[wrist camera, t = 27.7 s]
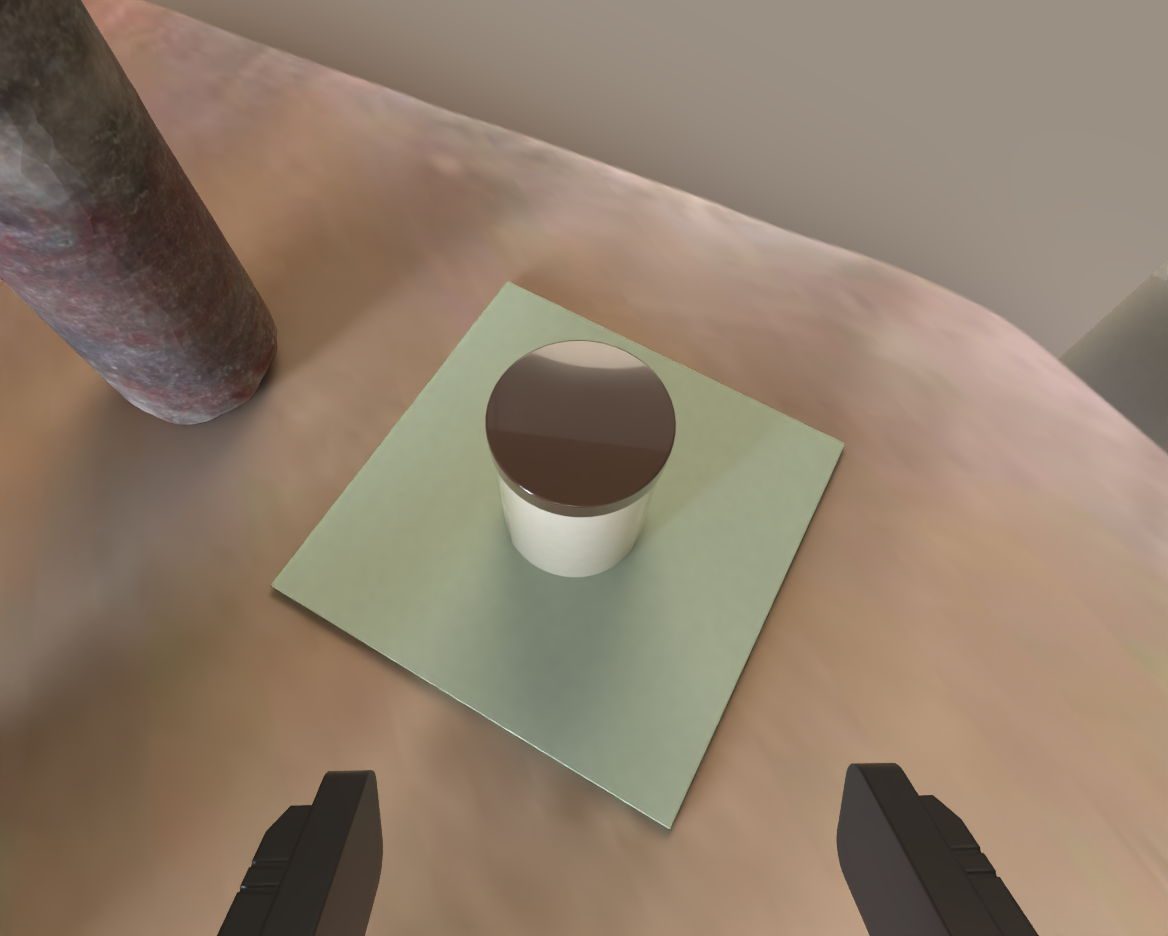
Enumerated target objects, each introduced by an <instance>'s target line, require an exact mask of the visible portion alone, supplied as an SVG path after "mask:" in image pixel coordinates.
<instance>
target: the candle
mask: <svg viewBox="0 0 1168 936" xmlns="http://www.w3.org/2000/svg"><path fill="white" fill-rule="evenodd" d="M0 278H1V279H2V280H3V281H4V282H5V283H6V284H7V285H8V286H9V287H10V288H11V289H12V290H13V291H14V292H15V293H16V294H17V295H19V296H20V297H21V298H22V299H23V300H24V301H25V302H26V303H27V304H28V305H29V306H30V307H31V308H32V309H33V310H34V311H35V312H36V313H37V314H38V315H39V316H40V317H41V318H42V319H43V320H44V321H45V322H46V323H47V324H48V325H49V326H50V327H51V328H52V329H53V330H54V331H55V332H56V333H57V334H58V335H59V336H60V337H61V338H62V339H63V340H64V341H65V342H67V343H68V344H69V345H70V346H71V347H72V348H73V349H74V350H75V351H76V352H77V353H78V354H79V355H80V356H81V357H82V358H83V359H84V360H85V361H86V362H87V363H88V364H89V365H90V366H91V367H92V368H93V369H94V370H95V371H96V372H97V373H98V374H99V375H100V376H102V377H103V378H104V379H105V380H106V381H107V382H108V383H109V384H110V385H111V386H113V387H114V388H115V389H116V390H117V391H118V392H119V393H120V394H121V395H122V396H123V397H124V398H125V399H126V400H128V401H129V402H131V403H132V404H133V405H134V406H136V407H138V408H140V409H141V410H143V411H145V412H148V413H150V414H152V415H154V416H156V417H158V418H161V419H163V420H165V421H167V422H171V423H175V424H182V425H187V424H198V423H202V422H207V421H209V420H212V419H214V418H216V417H218V416H220V415H222V414H223V413H225V412H228V411H231V410H233V409H234V408H236V407H238V406H240V405H242V404H243V403H245V402H246V401H248V400H249V399H251V397H252V395H253V394H254V393H255V392H256V390H257V388H258V386H259V384H260V381H261V379H262V378H263V376H264V375H265V374H266V372H267V369H268V367H269V365H270V363H271V361H272V360H273V358H274V355H275V353H276V350H277V340H276V336H277V330H276V327H275V324H274V321H273V319H272V317H271V314H270V312H269V310H268V308H267V306H266V305H265V303H264V301H263V299H262V298H261V296H260V294H259V293H258V291H257V290H256V288H255V287H254V285H253V283H252V281H251V279H250V277H249V276H248V274H247V273H246V271H245V269H244V268H243V266H242V265H241V263H240V261H239V260H238V258H237V256H236V255H235V253H234V252H233V250H232V248H231V247H230V245H229V244H228V242H227V241H226V239H225V237H224V236H223V234H222V232H221V231H220V229H219V227H218V226H217V224H216V222H215V221H214V219H213V217H212V216H211V214H210V213H209V211H208V210H207V208H206V206H205V205H204V203H203V202H202V200H201V198H200V197H199V195H198V194H197V192H196V190H195V189H194V187H193V186H192V184H191V182H190V181H189V179H188V178H187V176H186V174H185V173H184V171H183V170H182V168H181V166H180V164H179V163H178V161H177V159H176V158H175V156H174V155H173V153H172V151H171V150H170V148H169V146H168V145H167V143H166V142H165V140H164V139H163V137H162V135H161V134H160V132H159V130H158V129H157V127H156V125H155V124H154V122H153V120H152V119H151V117H150V115H149V113H148V112H147V110H146V108H145V106H144V104H143V103H142V101H141V99H140V97H139V95H138V94H137V92H136V90H135V88H134V87H133V85H132V84H131V82H130V81H129V79H128V78H127V76H126V74H125V72H124V71H123V69H122V67H121V66H120V64H119V62H118V60H117V59H116V57H115V55H114V54H113V52H112V51H111V49H110V47H109V46H108V44H107V42H106V41H105V39H104V38H103V36H102V34H101V33H100V31H99V30H98V28H97V26H96V25H95V23H94V21H93V20H92V18H91V16H90V15H89V13H88V11H87V10H86V8H85V6H84V5H83V3H82V1H81V0H0Z"/></svg>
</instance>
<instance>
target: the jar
mask: <svg viewBox="0 0 1168 936" xmlns="http://www.w3.org/2000/svg"><path fill="white" fill-rule="evenodd" d="M485 429H486V436H487V442H488V448H489V452H490V456H491V459H492V462H493V464H494V466H495V468H496V470H497V476H498V482H499V488H500V494H501V500H502V507H503V513H504V519H505V525H506V528H507V532H508V534H509V536H510V539H511V541H512V542H513V544H514V546H515V547H516V549H517V550H518V551H519V552H520V553H521V555H522V556H523V557H525V558H526V559H527V560H528V561H529V562H530V563H532V564H533V565H535V566H536V567H538V568H540V569H542V570H544V571H546V572H549V573H552V574H555V575H559V576H565V577H585V576H591V575H595V574H598V573H601V572H604V571H606V570H608V569H610V568H612V567H613V566H615V565H617V564H618V563H619V562H620V561H622V560H623V559H624V558H625V557H626V556H627V555H628V554H629V553H630V552H631V550H632V549H633V548H634V546H635V545H636V543H637V541H638V539H639V537H640V534H641V531H642V528H643V525H644V522H645V519H646V516H647V513H648V509H649V506H650V503H651V500H652V497H653V494H654V490H655V487H656V484H657V481H658V480H659V478H660V477H661V476H662V474H663V472H664V470H665V468H666V466H667V463H668V460H669V457H670V454H671V451H672V448H673V445H674V440H675V435H676V418H675V411H674V407H673V403H672V400H671V398H670V396H669V393H668V391H667V389H666V388H665V386H664V384H663V383H662V381H661V380H660V378H659V377H658V376H657V375H656V373H655V372H654V371H653V370H652V369H651V368H650V367H649V366H648V365H647V364H645V363H644V362H643V361H641V360H640V359H639V358H637V357H636V356H634V355H632V354H631V353H629V352H627V351H625V350H623V349H620V348H618V347H615V346H612V345H609V344H606V343H601V342H596V341H587V340H569V341H562V342H556V343H552V344H548V345H545V346H543V347H540V348H537V349H535V350H533V351H531V352H529V353H527V354H526V355H524V356H523V357H521V358H520V359H518V360H517V361H516V362H515V363H514V364H512V365H511V366H510V367H509V368H508V369H507V370H506V371H505V373H504V374H503V375H502V376H501V377H500V379H499V380H498V382H497V383H496V385H495V387H494V389H493V391H492V393H491V395H490V398H489V401H488V404H487V409H486V415H485Z"/></svg>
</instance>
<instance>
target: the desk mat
mask: <svg viewBox="0 0 1168 936" xmlns="http://www.w3.org/2000/svg"><path fill="white" fill-rule="evenodd" d="M569 340H587V341H596V342H601V343H606V344H609V345H612V346H615V347H618V348H620V349H623V350H625V351H627V352H629V353H631V354H632V355H634V356H636V357H637V358H639V359H640V360H641V361H643V362H644V363H645V364H647V365H648V366H649V367H650V368H651V369H652V370H653V371H654V372H655V373H656V375H657V376H658V377H659V378H660V380H661V381H662V383H663V384H664V386H665V388H666V389H667V391H668V393H669V396H670V398H671V400H672V403H673V407H674V411H675V418H676V435H675V440H674V445H673V448H672V451H671V454H670V457H669V460H668V463H667V466H666V468H665V470H664V472H663V474H662V476H661V477H660V478H659V480H658V481H657V484H656V487H655V490H654V494H653V497H652V500H651V503H650V506H649V509H648V513H647V516H646V519H645V522H644V525H643V528H642V531H641V534H640V537H639V539H638V541H637V543H636V545H635V546H634V548H633V549H632V550H631V552H630V553H629V554H628V555H627V556H626V557H625V558H624V559H623V560H622V561H620V562H619V563H618V564H617V565H615V566H613V567H612V568H610V569H608V570H606V571H604V572H601V573H598V574H595V575H591V576H585V577H565V576H559V575H555V574H552V573H549V572H546V571H544V570H542V569H540V568H538V567H536V566H535V565H533V564H532V563H530V562H529V561H528V560H527V559H526V558H525V557H523V556H522V555H521V553H520V552H519V551H518V550H517V549H516V547H515V546H514V544H513V542H512V541H511V539H510V536H509V534H508V532H507V528H506V525H505V519H504V513H503V507H502V500H501V494H500V488H499V482H498V476H497V470H496V468H495V466H494V464H493V462H492V459H491V456H490V452H489V448H488V442H487V436H486V429H485V415H486V409H487V404H488V401H489V398H490V395H491V393H492V391H493V389H494V387H495V385H496V383H497V382H498V380H499V379H500V377H501V376H502V375H503V374H504V373H505V371H506V370H507V369H508V368H509V367H510V366H511V365H512V364H514V363H515V362H516V361H517V360H518V359H520V358H521V357H523V356H524V355H526V354H527V353H529V352H531V351H533V350H535V349H537V348H540V347H543V346H545V345H548V344H552V343H556V342H562V341H569ZM844 446H845V443H843V442H841V441H839V440H837V439H835V438H833V437H831V436H829V435H827V434H825V433H822V432H820V431H818V430H816V429H814V428H812V427H810V426H808V425H806V424H804V423H802V422H800V421H797V420H795V419H793V418H791V417H789V416H787V415H785V414H783V413H781V412H779V411H777V410H775V409H773V408H770V407H768V406H766V405H764V404H762V403H760V402H758V401H756V400H754V399H752V398H750V397H748V396H746V395H743V394H741V393H739V392H737V391H735V390H733V389H731V388H729V387H727V386H725V385H723V384H721V383H719V382H716V381H714V380H712V379H710V378H708V377H706V376H704V375H702V374H700V373H698V372H696V371H694V370H692V369H689V368H687V367H685V366H683V365H681V364H679V363H677V362H675V361H673V360H671V359H669V358H667V357H665V356H662V355H660V354H658V353H656V352H654V351H652V350H650V349H648V348H646V347H644V346H642V345H640V344H638V343H635V342H633V341H631V340H629V339H627V338H625V337H623V336H621V335H619V334H617V333H615V332H613V331H611V330H608V329H606V328H604V327H602V326H600V325H598V324H596V323H594V322H592V321H590V320H588V319H586V318H584V317H581V316H579V315H577V314H575V313H573V312H571V311H569V310H567V309H565V308H563V307H561V306H559V305H557V304H554V303H552V302H550V301H548V300H546V299H544V298H542V297H540V296H538V295H536V294H534V293H532V292H529V291H527V290H525V289H523V288H521V287H519V286H517V285H515V284H513V283H511V282H509V281H507V282H506V283H505V285H504V286H503V287H502V289H501V290H500V291H499V292H498V294H497V295H496V296H495V298H494V299H493V300H492V301H491V303H490V304H489V305H488V307H487V308H486V309H485V310H484V312H483V313H482V314H481V316H480V317H479V318H478V319H477V321H476V322H475V323H474V325H473V326H472V327H471V328H470V330H469V331H468V332H467V334H466V335H465V336H464V337H463V339H462V340H461V341H460V342H459V344H458V345H457V346H456V348H455V349H454V350H453V351H452V353H451V354H450V355H449V357H448V358H447V359H446V360H445V362H444V363H443V364H442V366H441V367H440V368H439V369H438V371H437V372H436V373H435V375H434V376H433V377H432V378H431V380H430V381H429V382H428V384H427V385H426V386H425V387H424V389H423V390H422V391H421V393H420V394H419V395H418V396H417V398H416V399H415V400H414V402H413V403H412V404H411V405H410V407H409V408H408V409H407V411H406V412H405V413H404V414H403V416H402V417H401V418H400V419H399V421H398V422H397V423H396V425H395V426H394V427H393V428H392V430H391V431H390V432H389V434H388V435H387V436H386V437H385V439H384V440H383V441H382V443H381V444H380V445H379V446H378V448H377V449H376V450H375V452H374V453H373V454H372V455H371V457H370V458H369V459H368V461H367V462H366V463H365V464H364V466H363V467H362V468H361V470H360V471H359V472H358V473H357V475H356V476H355V477H354V479H353V480H352V481H351V482H350V484H349V485H348V486H347V487H346V489H345V490H344V491H343V493H342V494H341V495H340V496H339V498H338V499H337V500H336V502H335V503H334V504H333V505H332V507H331V508H330V509H329V511H328V512H327V513H326V514H325V516H324V517H323V518H322V520H321V521H320V522H319V523H318V525H317V526H316V527H315V529H314V530H313V531H312V532H311V534H310V535H309V536H308V538H307V539H306V540H305V541H304V543H303V544H302V545H301V547H300V548H299V549H298V550H297V552H296V553H295V554H294V556H293V557H292V558H291V559H290V561H289V562H288V563H287V564H286V566H285V567H284V568H283V570H282V571H281V572H280V573H279V575H278V576H277V577H276V579H275V580H274V581H273V582H272V584H271V586H272V587H273V588H275V589H276V590H278V591H280V592H281V593H283V594H285V595H286V596H288V597H289V598H291V599H293V600H294V601H296V602H298V603H299V604H301V605H303V606H304V607H306V608H308V609H309V610H311V611H312V612H314V613H316V614H317V615H319V616H321V617H322V618H324V619H326V620H327V621H329V622H330V623H332V624H334V625H335V626H337V627H339V628H340V629H342V630H344V631H345V632H347V633H348V634H350V635H352V636H353V637H355V638H357V639H358V640H360V641H362V642H363V643H365V644H366V645H368V646H370V647H371V648H373V649H375V650H376V651H378V652H380V653H381V654H383V655H385V656H386V657H388V658H389V659H391V660H393V661H394V662H396V663H398V664H399V665H401V666H403V667H404V668H406V669H407V670H409V671H411V672H412V673H414V674H416V675H417V676H419V677H421V678H422V679H424V680H425V681H427V682H429V683H430V684H432V685H434V686H435V687H437V688H439V689H440V690H442V691H443V692H445V693H447V694H448V695H450V696H452V697H453V698H455V699H457V700H458V701H460V702H462V703H463V704H465V705H466V706H468V707H470V708H471V709H473V710H475V711H476V712H478V713H480V714H481V715H483V716H484V717H486V718H488V719H489V720H491V721H493V722H494V723H496V724H498V725H499V726H501V727H502V728H504V729H506V730H507V731H509V732H511V733H512V734H514V735H516V736H517V737H519V738H520V739H522V740H524V741H525V742H527V743H529V744H530V745H532V746H534V747H535V748H537V749H539V750H540V751H542V752H543V753H545V754H547V755H548V756H550V757H552V758H553V759H555V760H557V761H558V762H560V763H561V764H563V765H565V766H566V767H568V768H570V769H571V770H573V771H575V772H576V773H578V774H579V775H581V776H583V777H584V778H586V779H588V780H589V781H591V782H593V783H594V784H596V785H598V786H599V787H601V788H602V789H604V790H606V791H607V792H609V793H611V794H612V795H614V796H616V797H617V798H619V799H620V800H622V801H624V802H625V803H627V804H629V805H630V806H632V807H634V808H635V809H637V810H638V811H640V812H642V813H643V814H645V815H647V816H648V817H650V818H652V819H653V820H655V821H656V822H658V823H660V824H661V825H663V826H665V827H666V828H668V829H670V828H671V826H672V824H673V822H674V820H675V817H676V815H677V813H678V811H679V809H680V806H681V804H682V802H683V800H684V798H685V795H686V793H687V791H688V789H689V787H690V784H691V782H692V780H693V778H694V776H695V773H696V771H697V769H698V767H699V765H700V762H701V760H702V758H703V756H704V754H705V751H706V749H707V747H708V745H709V743H710V740H711V738H712V736H713V734H714V732H715V729H716V727H717V725H718V723H719V721H720V718H721V716H722V714H723V712H724V710H725V707H726V705H727V703H728V701H729V699H730V696H731V694H732V692H733V690H734V688H735V685H736V683H737V681H738V679H739V677H740V674H741V672H742V670H743V668H744V666H745V663H746V661H747V659H748V657H749V655H750V652H751V650H752V648H753V646H754V644H755V641H756V639H757V637H758V635H759V633H760V630H761V628H762V626H763V624H764V622H765V619H766V617H767V615H768V613H769V611H770V608H771V606H772V604H773V602H774V600H775V597H776V595H777V593H778V591H779V589H780V586H781V584H782V582H783V580H784V578H785V575H786V573H787V571H788V569H789V567H790V565H791V562H792V560H793V558H794V556H795V554H796V551H797V549H798V547H799V545H800V543H801V540H802V538H803V536H804V534H805V532H806V529H807V527H808V525H809V523H810V521H811V518H812V516H813V514H814V512H815V510H816V507H817V505H818V503H819V501H820V499H821V496H822V494H823V492H824V490H825V488H826V485H827V483H828V481H829V479H830V477H831V474H832V472H833V470H834V468H835V466H836V463H837V461H838V459H839V457H840V455H841V452H842V450H843V448H844Z"/></svg>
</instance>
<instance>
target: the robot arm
mask: <svg viewBox="0 0 1168 936" xmlns="http://www.w3.org/2000/svg"><path fill="white" fill-rule="evenodd" d="M837 851H838V857H839V862H840V866H841V869H842V872H843V875H844V877H845V879H846V882H847V884H848V886H849V889H850V891H851V893H852V896H853V898H854V900H855V903H856V905H857V907H858V910H859V912H860V914H861V917H862V919H863V921H864V923H865V926H866V928H867V930H868V933H869V935H870V936H1039V935H1038V934H1037V932H1036V931H1035V929H1034V928H1033V926H1032V925H1031V923H1030V922H1029V920H1028V919H1027V917H1026V916H1025V914H1024V913H1023V911H1022V910H1021V908H1020V907H1019V905H1018V904H1017V902H1016V901H1015V899H1014V898H1013V896H1012V895H1011V893H1010V892H1009V890H1008V889H1007V887H1006V886H1005V884H1004V883H1003V881H1002V880H1001V878H1000V877H997V876H996V871H995V869H994V868H993V866H992V865H991V863H990V862H989V860H988V859H987V857H986V856H985V854H984V853H981V851H980V847H979V845H978V844H977V842H976V841H975V839H974V838H973V836H972V835H971V833H970V832H969V830H968V829H967V827H966V826H965V824H964V823H963V821H962V819H960V818H959V817H958V816H957V815H956V814H954V813H953V812H952V811H951V810H950V809H949V808H947V807H946V806H945V805H944V804H943V803H942V802H940V801H939V800H938V799H937V798H936V797H934V796H933V795H923V796H919V795H918V794H917V792H916V791H915V789H914V787H913V786H912V784H911V783H910V781H909V779H908V778H907V776H906V774H905V773H904V771H903V770H902V768H901V767H900V766H899V765H898V764H896V763H862V764H851V765H849V767H848V769H847V773H846V778H845V784H844V791H843V797H842V803H841V810H840V816H839V822H838V828H837ZM382 857H383V838H382V828H381V819H380V810H379V800H378V791H377V781H376V775H375V773H374V771H372V770H365V771H328V772H327V773H326V774H325V776H324V778H323V780H322V782H321V784H320V787H319V789H318V792H317V794H316V797H315V799H314V801H313V804H312V805H302V806H290V807H289V808H288V809H287V810H286V811H285V812H284V813H283V814H282V815H281V816H280V817H279V819H278V820H277V821H276V822H275V823H274V824H273V825H272V826H271V827H270V828H269V829H268V830H267V831H266V832H265V835H264V837H263V839H262V841H261V843H260V845H259V847H258V849H257V852H256V854H255V856H254V858H253V860H252V866H251V867H249V869H248V871H247V873H246V875H245V877H244V879H243V881H242V884H241V886H240V892H237V894H236V896H235V898H234V901H233V903H232V905H231V907H230V909H229V911H228V913H227V916H226V918H225V920H224V922H223V924H222V926H221V928H220V930H219V933H218V935H217V936H365V933H366V929H367V925H368V922H369V918H370V914H371V910H372V907H373V903H374V899H375V895H376V892H377V888H378V884H379V879H380V874H381V867H382Z"/></svg>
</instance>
